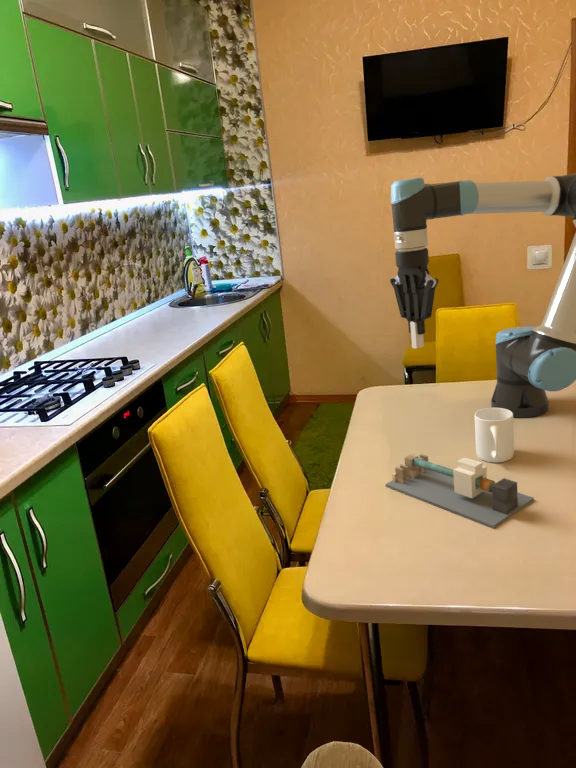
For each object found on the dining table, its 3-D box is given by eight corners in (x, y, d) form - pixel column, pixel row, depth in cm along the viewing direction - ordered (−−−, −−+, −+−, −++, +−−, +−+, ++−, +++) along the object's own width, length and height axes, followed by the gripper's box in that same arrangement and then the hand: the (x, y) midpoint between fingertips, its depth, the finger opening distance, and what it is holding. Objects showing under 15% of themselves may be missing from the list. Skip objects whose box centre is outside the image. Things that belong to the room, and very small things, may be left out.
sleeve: (469, 482, 133) (468, 454, 131) (487, 488, 129) (486, 460, 127) (454, 492, 130) (452, 463, 128) (472, 498, 126) (470, 469, 124)
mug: (477, 470, 142) (475, 427, 138) (475, 448, 153) (473, 408, 149) (517, 469, 139) (516, 426, 136) (512, 447, 150) (511, 406, 147)
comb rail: (421, 467, 146) (419, 444, 145) (526, 503, 125) (525, 476, 124) (392, 483, 141) (390, 459, 139) (497, 523, 120) (496, 496, 118)
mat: (425, 464, 148) (425, 462, 148) (533, 500, 126) (533, 497, 126) (385, 486, 140) (385, 484, 140) (493, 528, 118) (493, 525, 118)
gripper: (379, 251, 146) (387, 347, 153) (422, 251, 136) (429, 354, 143) (400, 246, 150) (407, 340, 157) (444, 245, 140) (449, 346, 147)
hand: (417, 346), depth 150 cm, fingers closed
